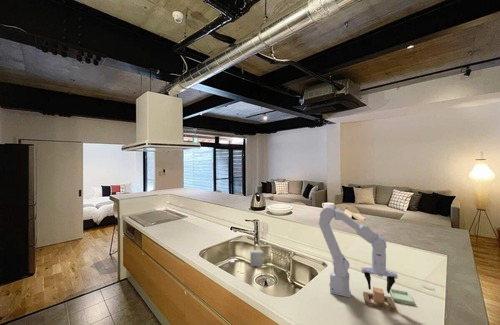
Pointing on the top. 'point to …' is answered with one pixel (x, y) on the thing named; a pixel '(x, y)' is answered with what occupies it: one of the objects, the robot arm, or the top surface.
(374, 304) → the pocket board
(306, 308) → the top surface
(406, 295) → the tray
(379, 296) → the block
